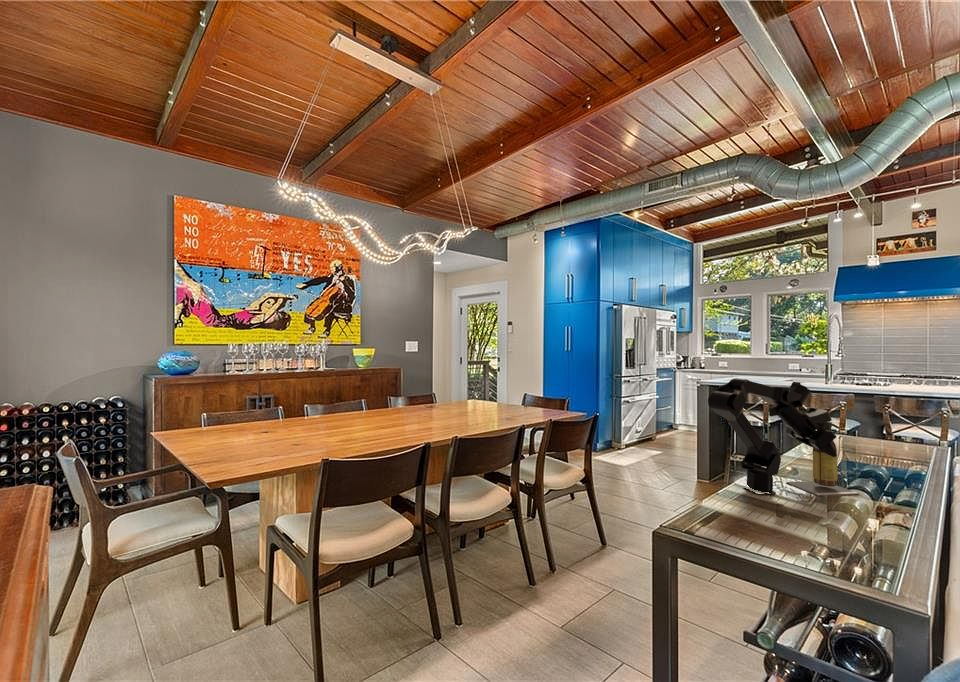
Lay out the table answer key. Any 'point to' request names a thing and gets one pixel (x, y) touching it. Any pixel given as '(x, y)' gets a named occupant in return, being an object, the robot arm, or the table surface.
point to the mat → (822, 489)
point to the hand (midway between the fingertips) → (829, 453)
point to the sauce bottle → (825, 463)
